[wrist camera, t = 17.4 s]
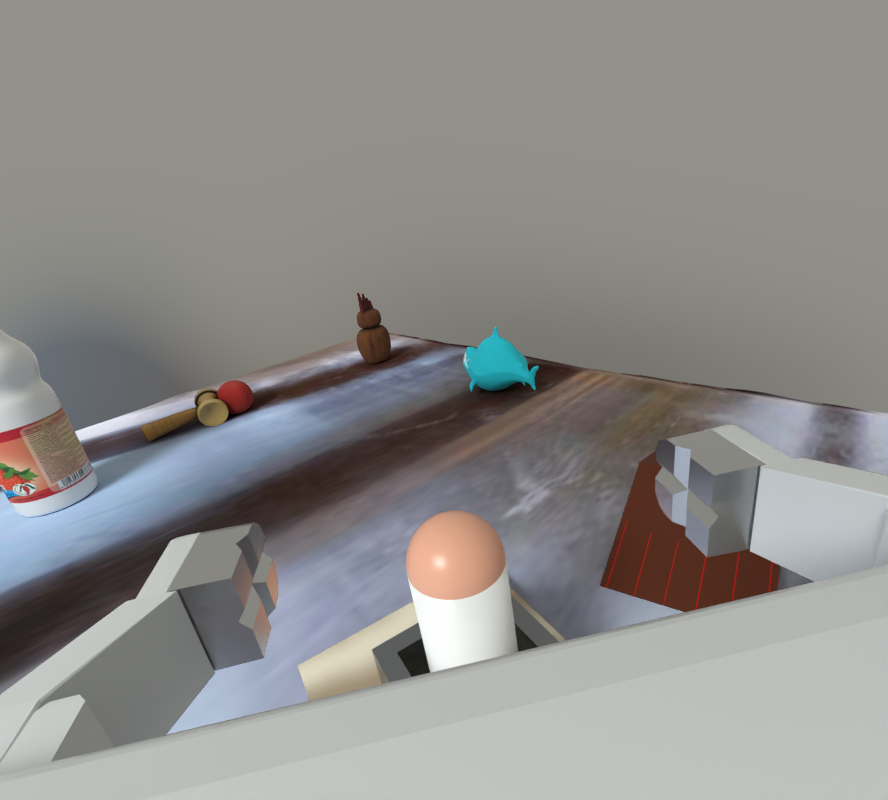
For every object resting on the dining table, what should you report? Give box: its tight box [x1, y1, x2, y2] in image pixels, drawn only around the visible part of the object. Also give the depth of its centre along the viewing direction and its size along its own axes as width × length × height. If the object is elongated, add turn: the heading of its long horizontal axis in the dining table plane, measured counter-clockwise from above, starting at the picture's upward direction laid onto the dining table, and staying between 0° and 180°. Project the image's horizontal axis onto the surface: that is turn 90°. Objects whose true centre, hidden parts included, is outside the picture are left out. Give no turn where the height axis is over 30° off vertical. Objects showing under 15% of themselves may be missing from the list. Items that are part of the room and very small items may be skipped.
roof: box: [600, 451, 780, 612], centre depth 43 cm, size 24×11×5 cm, turn 146°
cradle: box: [372, 595, 559, 684], centre depth 29 cm, size 9×9×4 cm
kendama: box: [141, 381, 253, 442], centre depth 84 cm, size 8×6×18 cm
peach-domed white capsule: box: [406, 510, 518, 673], centre depth 27 cm, size 5×5×14 cm
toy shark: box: [463, 327, 539, 391], centre depth 75 cm, size 10×18×11 cm, turn 32°
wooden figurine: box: [357, 293, 391, 364], centre depth 100 cm, size 7×6×15 cm
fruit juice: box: [0, 329, 98, 517], centre depth 61 cm, size 9×9×28 cm
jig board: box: [298, 587, 566, 701], centre depth 28 cm, size 22×16×1 cm
